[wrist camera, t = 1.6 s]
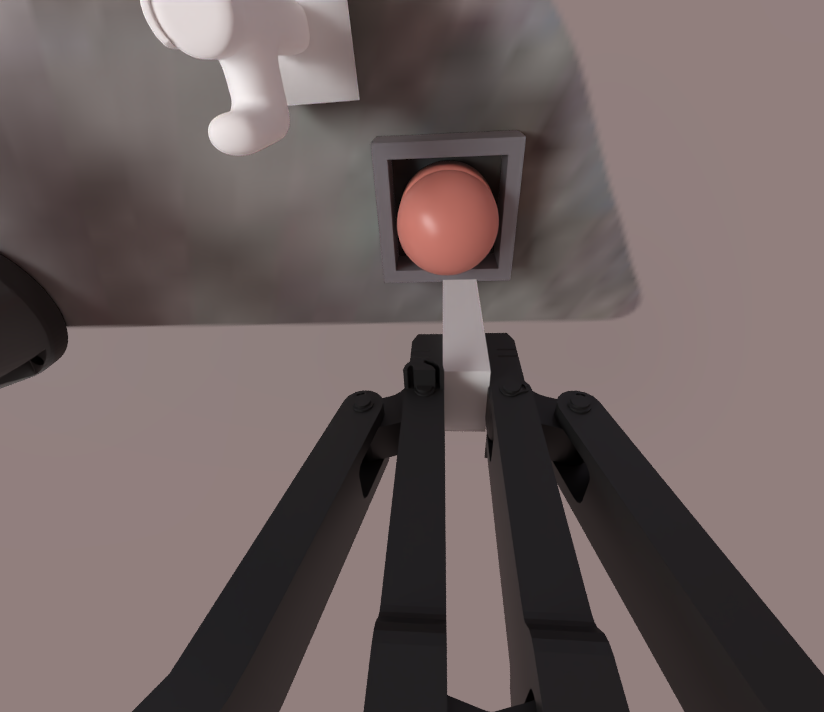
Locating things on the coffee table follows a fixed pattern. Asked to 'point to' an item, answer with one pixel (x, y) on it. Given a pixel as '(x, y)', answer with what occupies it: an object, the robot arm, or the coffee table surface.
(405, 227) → the pink ball
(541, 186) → the coffee table surface
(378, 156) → the housing
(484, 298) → the coffee table surface
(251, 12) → the white faucet
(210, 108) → the coffee table surface
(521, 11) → the coffee table surface
